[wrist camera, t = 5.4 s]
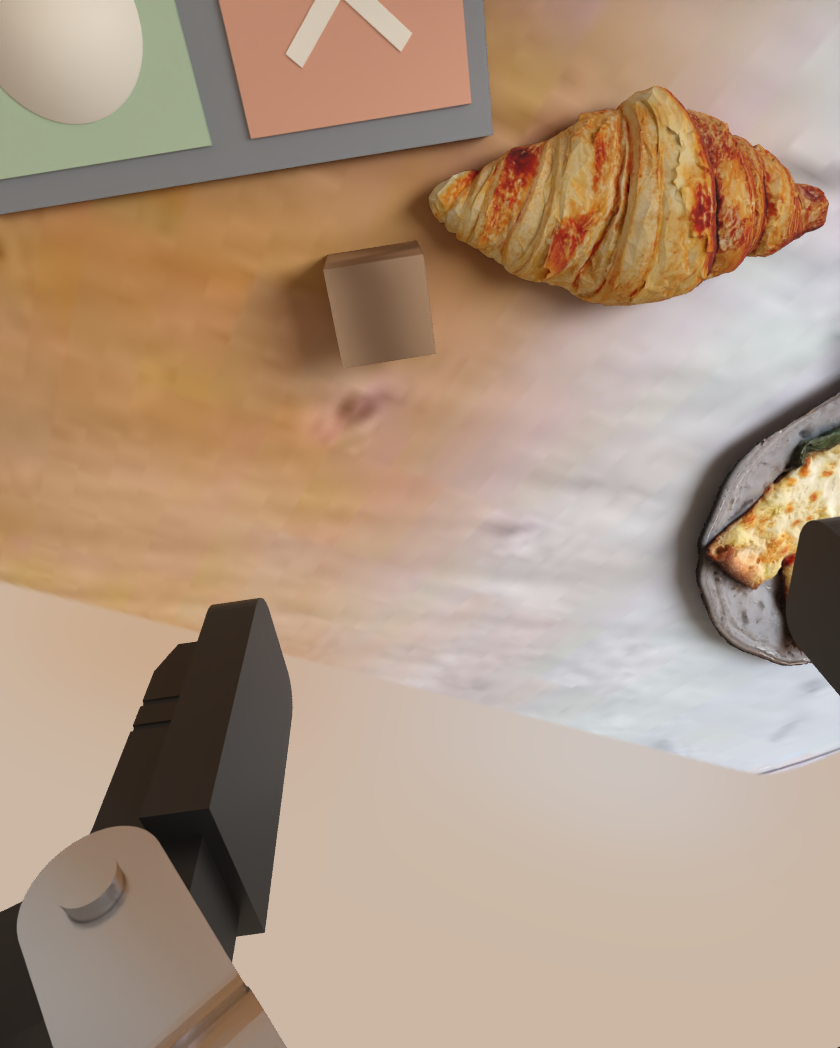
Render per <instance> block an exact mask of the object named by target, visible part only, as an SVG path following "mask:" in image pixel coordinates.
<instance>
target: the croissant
mask: <svg viewBox="0 0 840 1048" xmlns="http://www.w3.org/2000/svg"><path fill="white" fill-rule="evenodd" d="M428 198H429V203H430V204H429V206H430V209H431V211H432V213H433V216H434V217H435V218H436V219H437V220H438V221H439V222H440V223H445V228H446V229H447V230H448V231H449V232H450V233H455V234H456V238H457V240H460V241H462V242H465V243H467V244H468V245H470V246H472V247H473V248H476V249H478V250H479V251H481V252H482V253H483V254H484V255H486V256H487V257H490V258H494V259H495V261H496V262H498V263H499V264H503V266H504V268H505V269H506V270H507V271H508V272H509V273H511V274H513V275H515V276H517V277H520V278H522V279H525V280H528V281H533V282H536V283H539V282H545V283H548V284H549V285H558V286H560V287H563V288H564V289H566V290H569V292H570V293H571V294H572V295H575V296H576V297H578V298H579V299H581V300H583V301H586V302H590V303H601V304H603V305H605V306H607V305H635V304H642V303H651V302H658V301H663V300H666V299H670V298H672V297H675V296H679V295H683V294H687V293H688V292H691V291H692V290H693V289H694V288H695V287H697V286H698V285H699V284H700V283H702V282H703V281H705V280H707V279H709V278H713V277H717V276H719V275H721V274H723V273H729V272H731V271H734V270H735V269H736V268H737V267H738V266H739V265H740V264H741V263H742V261H743V260H744V258H745V257H746V256H749V257H757V256H760V257H766V256H769V255H772V254H774V253H775V252H777V251H779V250H780V249H782V248H783V247H784V246H786V245H787V244H789V243H790V242H792V241H793V240H795V239H798V238H800V237H801V236H802V235H803V234H805V233H806V232H810V231H814V230H816V229H818V228H820V227H822V226H823V225H824V223H825V222H826V215H827V210H828V205H829V202H828V200H827V199H826V197H825V195H824V192H823V191H822V190H820V189H819V188H817V187H813V186H810V185H807V184H798V183H794V180H793V178H792V177H791V175H790V172H789V170H788V169H787V168H786V167H784V166H783V165H782V164H781V163H780V162H779V160H778V159H777V158H776V157H775V156H774V155H773V154H771V153H770V152H769V151H767V150H765V149H764V148H762V147H761V146H760V145H759V144H758V145H755V146H752V145H751V144H750V143H749V142H748V141H746V140H745V139H744V138H741V137H739V136H736V135H732V134H731V133H730V132H729V128H728V125H727V123H725V122H722V121H720V120H719V119H717V118H714V117H712V116H710V115H707V114H705V113H700V112H696V111H692V110H686V109H685V108H684V106H683V105H682V104H681V103H680V102H679V101H678V100H677V98H676V97H675V96H674V95H673V94H672V93H671V92H670V91H669V90H667V89H665V88H662V87H659V86H653V87H651V88H649V89H647V90H644V91H638V92H636V93H634V94H633V95H632V96H631V97H629V98H628V99H627V100H626V101H624V102H623V103H621V104H620V106H619V107H618V108H617V109H616V110H610V109H603V110H600V111H596V112H589V113H583V114H580V115H579V119H578V121H577V122H576V123H575V124H574V125H572V126H570V127H569V128H567V129H566V130H565V131H561V132H560V133H559V134H558V135H556V136H554V137H552V138H550V139H548V140H546V141H544V142H540V143H537V144H532V145H526V146H521V147H516V148H512V149H511V150H510V151H508V152H507V153H505V154H503V155H502V156H500V157H499V159H497V160H495V161H492V162H490V163H488V164H487V165H486V166H484V167H483V169H482V170H481V171H477V170H469V171H464V172H461V173H459V174H456V175H453V176H452V177H451V178H450V179H448V180H446V181H443V182H441V183H440V184H438V185H437V186H436V187H435V188H434V189H433V191H432V193H431V194H430V196H429V197H428Z"/></svg>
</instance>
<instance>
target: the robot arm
mask: <svg viewBox="0 0 840 1048" xmlns="http://www.w3.org/2000/svg"><path fill="white" fill-rule="evenodd" d="M786 618H787V623H788V627H789V630H790V633H791V635H792V637H793V639H794V641H795V643H796V644H797V645H798V647H799V648H800V649H801V650H802V652H803V653H804V654H805V655H806V656H807V657H808V659H809V660H810V661H811V662H812V663H813V665H814V666H815V667H816V668H817V669H818V670H819V672H820V673H821V674H822V675H823V676H824V678H825V679H826V680H827V681H828V682H829V684H830V685H831V686H832V687H833V688H834V689H835V691H836V692H837V693H838V694H839V695H840V516H839V517H832V518H825V519H818V520H811V521H809V522H807V523H806V524H805V525H804V526H803V528H802V530H801V532H800V535H799V540H798V545H797V550H796V555H795V560H794V566H793V571H792V576H791V581H790V586H789V591H788V596H787V601H786ZM291 720H292V692H291V685H290V679H289V674H288V671H287V668H286V664H285V661H284V658H283V654H282V651H281V648H280V644H279V641H278V638H277V635H276V631H275V628H274V625H273V621H272V618H271V615H270V611H269V608H268V606H267V604H266V602H265V600H264V599H263V598H257V599H250V600H243V601H236V602H229V603H222V604H215V605H211V606H210V607H209V609H208V611H207V614H206V617H205V620H204V623H203V626H202V629H201V632H200V635H199V638H198V641H197V642H191V643H184V644H178V645H177V647H176V648H175V649H174V650H173V651H172V652H171V653H170V654H169V655H168V656H167V658H166V659H165V660H164V661H163V662H162V663H161V664H160V665H159V667H158V668H157V669H156V670H155V671H154V673H153V676H152V678H151V681H150V683H149V686H148V688H147V691H146V694H145V696H144V699H143V706H141V707H140V709H139V711H138V714H137V716H136V719H135V722H134V724H133V727H134V730H133V731H132V732H130V734H129V737H128V739H127V742H126V745H125V747H124V749H123V752H122V755H121V757H120V760H119V762H118V765H117V767H116V770H115V773H114V775H113V778H112V780H111V783H110V785H109V788H108V790H107V793H106V795H105V798H104V800H103V803H102V806H101V808H100V811H99V813H98V816H97V818H96V821H95V824H94V826H93V828H92V831H91V833H90V834H89V835H87V836H85V837H83V838H81V839H80V840H78V841H76V842H74V843H73V844H71V845H70V846H68V847H67V848H66V849H64V850H63V851H62V852H60V853H59V854H58V855H57V856H56V857H55V858H54V859H52V860H51V861H50V862H49V863H48V865H47V866H46V867H45V868H44V869H43V870H42V871H41V872H40V873H39V875H38V876H37V877H36V879H35V880H34V882H33V883H32V884H31V886H30V888H29V890H28V891H27V893H26V895H25V897H24V899H23V901H22V902H21V903H18V904H16V905H14V906H12V907H10V908H8V909H6V910H4V911H1V912H0V1048H287V1047H286V1046H285V1044H284V1043H283V1041H282V1039H281V1038H280V1036H279V1034H278V1033H277V1031H276V1029H275V1028H274V1026H273V1025H272V1023H271V1021H270V1019H269V1018H268V1016H267V1014H266V1013H265V1011H264V1010H263V1008H262V1007H261V1005H260V1003H259V1002H258V1000H257V998H256V997H255V995H254V994H253V992H252V991H251V990H250V988H249V987H247V986H246V985H245V983H244V982H243V980H242V979H241V977H240V975H239V974H238V972H237V971H236V969H235V967H234V966H233V964H232V959H233V953H234V946H235V940H236V937H237V936H243V935H251V934H258V933H264V932H265V926H266V918H267V910H268V902H269V894H270V886H271V878H272V871H273V862H274V854H275V847H276V838H277V831H278V823H279V815H280V807H281V799H282V792H283V784H284V776H285V768H286V760H287V752H288V744H289V736H290V727H291ZM838 1048H840V1047H838Z"/></svg>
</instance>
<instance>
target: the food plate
mask: <svg viewBox="0 0 840 1048" xmlns="http://www.w3.org/2000/svg"><path fill="white" fill-rule="evenodd" d="M766 439H767V438H766ZM766 439H764V443H761V442H762V441H763V440H762V441H761V442H759V443H758V444H757V446H755V447H754V448H753V449H752V451H749V453H747V454H746V455H745V456H744V457H743V459H741V460H739V461H738V463H736V465H735V467H734V468H733V470H731V471H730V472H729V474H728V475H727V477H726V478H725V481H724V483H723V484H722V485H721V487H720V491H718V494H717V496H716V501H714V504H713V507H712V509H711V512H710V515H709V516H708V520H707V521H706V524H704V529H703V531H702V532H701V535H700V537H699V541H698V545H697V546H698V554H699V556H698V557H699V560H698V563H697V568H696V578H697V584H698V587H699V589H700V590H701V591H700V592H702V593H701V597H702V600H703V603H704V605H705V606H706V609H707V611H708V615H709V617H710V619H711V621H712V623H713V625H714V626H715V628H716V630H717V631H718V632H719V634H720V636H722V637H723V638H725V640H726V641H727V643H729V644H730V645H732V646H734V647H736V648H738V649H739V650H741V651H743V652H746V653H749V654H752V655H756V656H759V657H760V658H763V659H766V660H769V661H770V662H773V663H776V664H779V665H783V666H792V665H802V664H804V663H805V664H808V663H812V662H811V661H810V660H809V659H808V657H807V656H806V655H805V654H804V653H803V652H802V650H801V649H800V648H799V647H798V645H797V644H796V643H795V641H794V639H793V637H792V635H791V633H790V630H789V627H788V623H787V618H786V601H787V596H788V591H789V586H790V581H791V576H792V571H793V566H794V560H795V555H796V550H797V545H798V540H799V535H800V532H801V530H802V528H803V526H804V525H805V524H806V523H807V522H809V521H811V520H818V519H825V518H832V517H839V516H840V392H839V393H838V394H837V395H836V396H834V397H831V398H829V400H827V401H825V402H824V403H822V404H820V405H819V406H818V407H816V408H813V409H812V410H811V411H810V412H809V413H807V414H805V415H804V416H801V417H800V418H798V419H797V420H794V421H793V422H792V423H790V424H788V425H787V426H786V427H785V428H783V429H781V430H779V431H778V432H775V434H773V435H771V436H770V437H768V439H767V440H766Z"/></svg>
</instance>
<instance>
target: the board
mask: <svg viewBox="0 0 840 1048" xmlns="http://www.w3.org/2000/svg"><path fill="white" fill-rule="evenodd" d="M489 135H493V129H492V115H491V101H490V87H489V73H488V59H487V45H486V31H485V17H484V3H483V0H0V214H6V213H12V212H18V211H25V210H31V209H37V208H43V207H49V206H56V205H62V204H68V203H74V202H80V201H87V200H93V199H99V198H105V197H111V196H118V195H124V194H130V193H136V192H142V191H149V190H155V189H161V188H167V187H173V186H180V185H186V184H192V183H198V182H204V181H210V180H217V179H223V178H229V177H235V176H241V175H248V174H254V173H260V172H266V171H272V170H279V169H285V168H291V167H297V166H303V165H310V164H316V163H322V162H328V161H334V160H341V159H347V158H353V157H359V156H365V155H371V154H378V153H384V152H390V151H396V150H402V149H409V148H415V147H421V146H427V145H433V144H440V143H446V142H452V141H458V140H464V139H471V138H477V137H483V136H489Z"/></svg>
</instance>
